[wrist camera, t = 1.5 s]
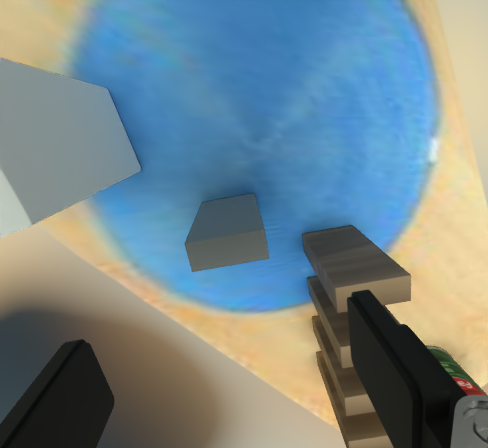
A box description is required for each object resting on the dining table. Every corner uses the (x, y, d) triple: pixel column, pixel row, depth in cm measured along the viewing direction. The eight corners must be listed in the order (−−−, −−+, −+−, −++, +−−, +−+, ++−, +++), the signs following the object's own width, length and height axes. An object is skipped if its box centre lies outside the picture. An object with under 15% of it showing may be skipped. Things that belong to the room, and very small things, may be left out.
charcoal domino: (201, 202, 27) (184, 243, 18) (254, 192, 27) (264, 229, 17) (206, 221, 28) (192, 272, 18) (257, 212, 28) (269, 258, 18)
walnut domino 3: (312, 316, 32) (344, 397, 22) (356, 309, 32) (409, 387, 22) (313, 331, 32) (346, 416, 23) (357, 323, 32) (408, 406, 23)
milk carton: (108, 87, 24) (-290, -30, 6) (143, 170, 26) (-63, 273, 8) (30, 114, 24) (-564, 84, 6) (71, 193, 26) (-275, 338, 8)
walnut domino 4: (316, 351, 33) (348, 441, 24) (359, 344, 33) (408, 432, 24) (317, 365, 34) (349, 457, 25) (359, 358, 34) (408, 448, 24)
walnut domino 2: (307, 277, 30) (340, 347, 21) (354, 269, 30) (410, 335, 20) (309, 293, 31) (342, 368, 21) (355, 285, 31) (409, 357, 21)
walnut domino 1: (301, 233, 28) (335, 288, 19) (352, 225, 28) (411, 275, 19) (304, 251, 29) (337, 313, 20) (353, 243, 29) (410, 300, 20)
